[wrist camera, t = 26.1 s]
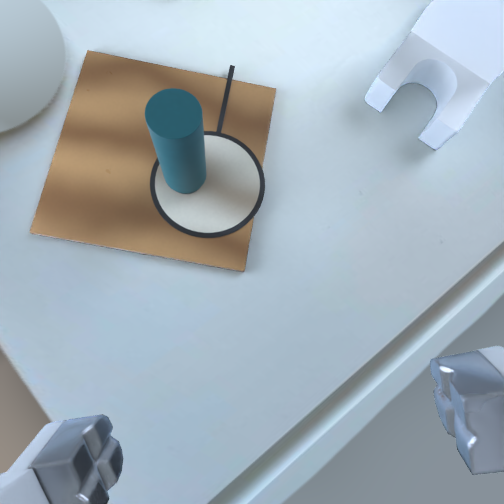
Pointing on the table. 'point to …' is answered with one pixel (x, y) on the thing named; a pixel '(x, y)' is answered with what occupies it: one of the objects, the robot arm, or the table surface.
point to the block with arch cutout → (447, 62)
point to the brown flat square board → (156, 166)
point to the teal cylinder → (178, 138)
